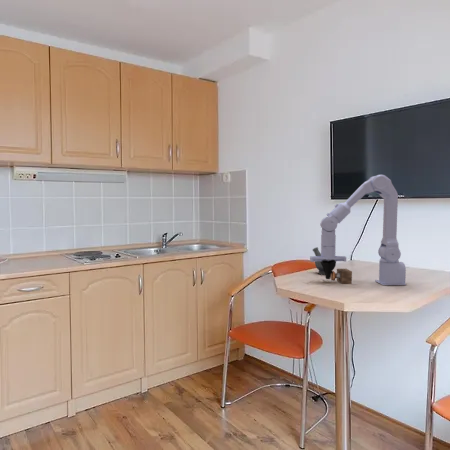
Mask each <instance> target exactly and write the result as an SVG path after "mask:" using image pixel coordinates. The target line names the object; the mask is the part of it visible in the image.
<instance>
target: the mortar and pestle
mask: <svg viewBox="0 0 450 450" xmlns="http://www.w3.org/2000/svg"><path fill="white" fill-rule="evenodd" d="M312 252H313V253H314V255H315V256H321V251H320V250H319V247H314V248H312ZM324 260H326V259H324ZM335 262H336V263H337V261H335ZM314 265H315V267H316V269H317V270H318V274H319V275H321V274H322V275H323V276H325V272H324V269H323V267H322V264H321V261H314ZM336 265H337V264H336ZM336 265H335V266H334V268H333V270H335V268H336Z"/></svg>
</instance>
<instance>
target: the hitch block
mask: <svg viewBox="0 0 450 450" xmlns="http://www.w3.org/2000/svg"><path fill="white" fill-rule="evenodd" d="M336 273H341V274H340V278H336V281H337V282H339V283H340V284H342V285H349V284H351V285H353V284H352V283H353V271H352V270H351V269H349V268H336Z"/></svg>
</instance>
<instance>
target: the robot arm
mask: <svg viewBox="0 0 450 450" xmlns="http://www.w3.org/2000/svg"><path fill="white" fill-rule="evenodd" d="M392 182H393V181H392V179H390V178H389V177H388V176H387V175H385V174H377V175H373V176H370V177H369V178H368V179H367V180H366V181H364V182H363V183H362V184H361V185H360V186H359V187H358V188H357V189H356V190H355V191H354V192H353V193H352V194H351V195H350V196H349V197H348V198H347V199H346V201H344V202H339V203H336V204H335V205H334V208H333V209H332V210H331V211H330V212H327V213H326V216H325V217H323V218H322V219H321V221H320V228H321V235H320V236H321V237H320V253H321V256H316V255H315V256H309V261H310V262H314V263H315V261H321V264H322V267H323V269H324V272H325V275H324V277H325V279H326V280H331V278H330V277H331V273H332V271H334V269H335V268H334V266H335V265H337V262H343V263H344V262H347V256H345V255H342V256H341V255H336V245H337V244H336V239H337V238H336V237H337V236H336V229H337V227H338V224H341V222H342V221H344V220H345V218H347V216H348V215H349V214H350V213H351V208H352V207H353V206H354V205H356V203H358V201H359V200H361V199H362V198H363V197H364V196H365V195H367V194H370V193H375V194H377V195H379V196H380V197H381V198H382V199H383V218H382V220H383V223H382V239H381V240H380V246H379V248H378V252H377V253H378V255H379V258H380V259H379V260H378V261H379V265H378V266H379V270H378V279H375V280H374V282H376V283H378V284H380V285H382V286H406V285H407V283H406V278H407V277H406V275H407V273H406V271H407V270H406V264H405V262H403V261H400V259H401V255H402V253H401V250H400V247H399V241H398V239H397V232H398V231H397V230H398V228H397V227H398V225H397V224H398V204H399V203H398V201H399V198H398V197H399V193H398V191H397V189H396V188H395V186H394V184H393V183H392ZM324 259H326V260H324ZM335 261H336V262H335ZM335 267H336V266H335ZM333 268H334V269H333Z"/></svg>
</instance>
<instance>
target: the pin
mask: <svg viewBox="0 0 450 450" xmlns="http://www.w3.org/2000/svg"><path fill="white" fill-rule="evenodd" d="M340 274H341V273H337V272H335V271H334V270H332V273H331V277H330V281H335V280H336V279H337V278H340Z"/></svg>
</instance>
